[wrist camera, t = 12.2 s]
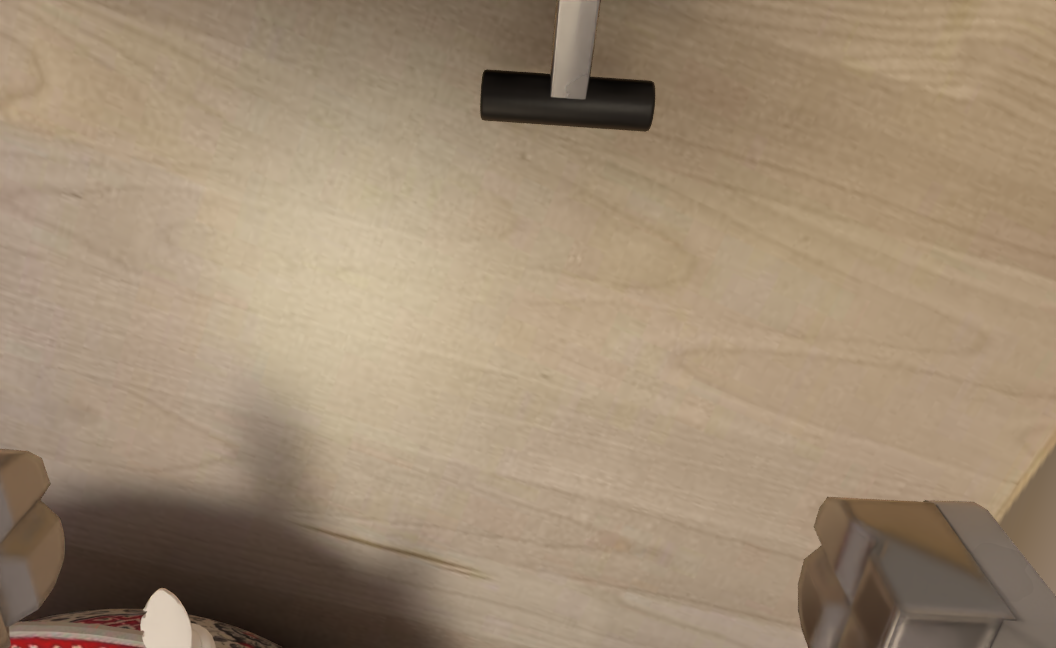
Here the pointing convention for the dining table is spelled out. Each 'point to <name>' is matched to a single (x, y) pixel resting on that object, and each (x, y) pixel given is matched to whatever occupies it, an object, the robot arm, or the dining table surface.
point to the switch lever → (569, 83)
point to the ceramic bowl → (115, 631)
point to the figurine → (171, 624)
